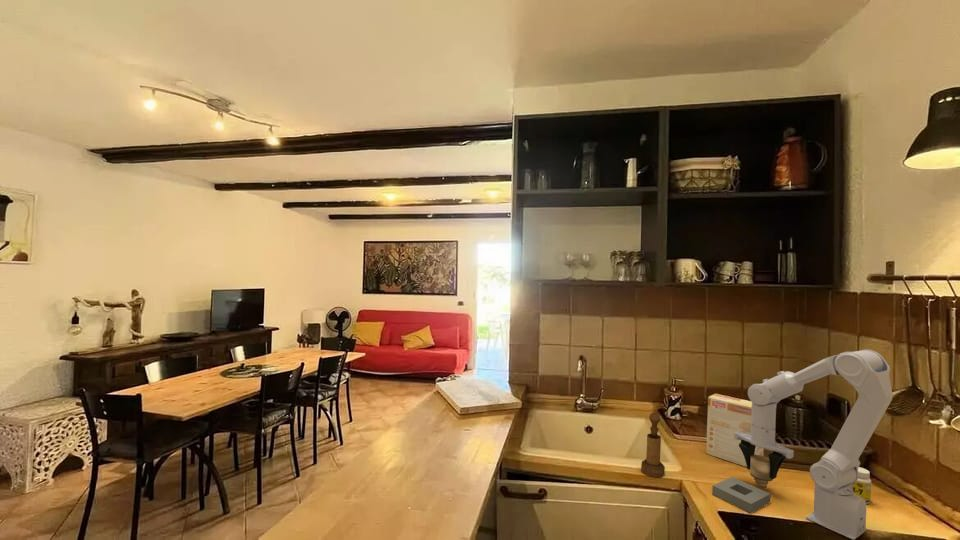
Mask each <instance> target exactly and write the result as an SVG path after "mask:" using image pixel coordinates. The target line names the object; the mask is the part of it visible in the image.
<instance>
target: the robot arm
mask: <svg viewBox="0 0 960 540" xmlns="http://www.w3.org/2000/svg"><path fill="white" fill-rule="evenodd" d="M890 372H891V367H890V365H889V364H888V362H887V361H886V360H885V358H884V357H883V356H882V355H881V354H880V353H879V352H877V351H875V350H873V349H861V350H858V351H857V350H854V351H844V352H841V353H839V354H835V355H832V356H828V357H825V358H823V359H821V360H819V361H817V362H815V363H812V364H811V365H809V366H808V367H805V368H803V369H801V370H799V371H797V372H792V371H786V370H785V371H784V370H782V371H778V372H776V374H777V375H775V376H773V377H771V378H765V379H762V383H753V384H752V385H751V386H749V387H748V390H747V396H748V399H749V401H751V402H752V414H751V435H749V434H745V433H741V432H735V433H734V439H736V440H741V443H739V447H740V449H741V451H742V453H743V455H744V458H745V461H746V465H747V467H746V468H747V470H749V471H750V461H751V455H754V453H755V448H756V446H758V447H761V448H763V449H764V450H766V451H769V452H772V453H769V454H768V456H767V457H768V458H769V461H770V478H771V479H773V480H774V479H776V478H777V476H778V473H779V469H780V468H781V466H782V464H783V463H784V461H785V459H789V460H791V459H793V458H794V450H793V449H790V448H788V447H786V446H783V445H781V444H779V443H778V442H776V422H777V421H776V419H777V418H776V417H777V416H776V415H777V405H778V403H779V402H781V400H784V399H786V398H788V397H791V396H794V395H795V394H798V393H801V392H802V391H803V390H804V385H805V384H808V383H811V382H813V381H816V380H819V379H821V378H825V377H826V376H829V375H834V376H841V377H842V378H843V379H844V380H845V381H847V382H848V383H849V384H850V385H851V386H852V387H853V388H854V389H855V391H856V392H857V394H858V398H857V399H856V401H855V402H854V404H853V407H852V408H851V410H850V412H849V414H848V416H847V417H846V419H845V422H844V423H843V425H842V427H841V429H840V431H839V432H838V434H837V436H836V438H835V440H834V442H833V443H832V446H831V448H830V449H829V450H827V451H826V452H825V454H823V455H822V456H821V458H820V459H819V461H818V462H816V463H813V464H811V466H810V469H809V475H810V477H811V480H812V481H813V482H814V495H813V496H814V498H813V512H811V513H809V514H808V515H807V516H806V520H808V521H812V522H813V523H815V524H817V525H818V526H821V527H824V528H827V529H828V530H830V531H833V532H836V533H837V534H839V535H840V536H841V535H842V536H844V537H846V538H848V539H851V540H856V539H858V538H859V537H860V536H861V535H862V534H864V533H865V532H866V531H867V528H866V526H867V525H866V524H867V523H866V522H867V504H866V501H865V500H864V499H863V498H861V497H859V496H857V495H856V494H854V493H853V488H852V483H855V482H856V481H857V480H858V477H859V474H858V467H860V465H861V462H860V457H861V455H862V454H863V451H864V450H865V448H866V447H867V444H868V442H869V441H870V440H871V438H872V435H873V434H874V432H875V431H876V430H877V429H876V428H877V426H878V425H879V423H880V421H881V420H882V418H883V416H884V415H885V414H886V413H885V412H886V411H887V409H888V407H889V405H890V404H891V402H892V400H893V398H894V397H893V391H892V383H891V379H890Z"/></svg>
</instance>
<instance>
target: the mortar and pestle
mask: <svg viewBox="0 0 960 540" xmlns="http://www.w3.org/2000/svg"><path fill="white" fill-rule="evenodd" d="M648 417H649V421H650V423H651V426H650V427H649V430H650V433H648V434H647V435H646V455H645V456H646V458H645V459H644V460H642V461H641V465H640V466H641V467H640V470H641V472H642V473H643V474H645V475H646V476H649V477H652V478H662V477H664V476H665V471H666V466H665V465H664V464H663V463H662V462H661V448H662V447H661V446H662V445H661V444H662V442H661V441H662V437H661V435H659V434H658V433H659V428H658V424H659V423H660V420H661V416H660V415H659V414H658V413H656V412H651V413H650V415H649V416H648Z"/></svg>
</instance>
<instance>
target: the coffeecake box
mask: <svg viewBox="0 0 960 540" xmlns="http://www.w3.org/2000/svg"><path fill="white" fill-rule="evenodd" d="M751 414H752V401H751V400H746V399H743V398H742V399H741V398H738V397H737V398H736V397H733V396H729V395H723V394H719V393H714V394H712V395H709V396H708V397H707V419H706V421H707V423H706V447H705V448H706V449H705V450H706V451H705V452H706V455H709V456H712V457H716V458H717V459H718V458H719V459H722V460H725V461H728V462H731V463H733V464H737V465H740V466H743V467H746V468H747V465H746V461H745V458H744V455H743V453H742V451H741V449H740V447H739V443H741V440H736V439H734V433H735V432H741V433H745V434H749V435H751ZM764 450H765V449H763V448H761V447H758V446H756V448H755V453H754V455H762V456H764Z"/></svg>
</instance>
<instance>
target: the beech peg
mask: <svg viewBox="0 0 960 540" xmlns="http://www.w3.org/2000/svg"><path fill="white" fill-rule="evenodd" d="M749 471H750V472H749V475H750V476H751V477H752V478H753V480H754V484H755V485H756V486H757V487H758V488H759V487H760V488H768V484H769V482H772V481H773V480H774V479H771V478H770V461H769V456H765V455H763V456H762V455H751V461H750V470H749Z"/></svg>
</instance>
